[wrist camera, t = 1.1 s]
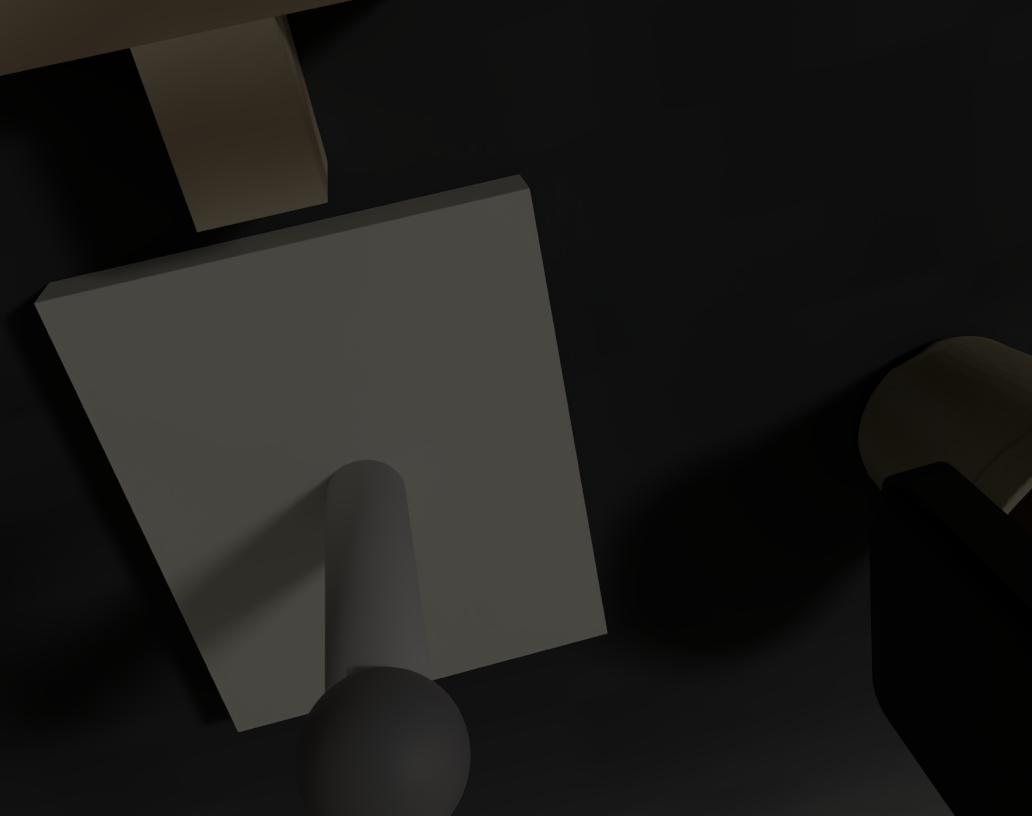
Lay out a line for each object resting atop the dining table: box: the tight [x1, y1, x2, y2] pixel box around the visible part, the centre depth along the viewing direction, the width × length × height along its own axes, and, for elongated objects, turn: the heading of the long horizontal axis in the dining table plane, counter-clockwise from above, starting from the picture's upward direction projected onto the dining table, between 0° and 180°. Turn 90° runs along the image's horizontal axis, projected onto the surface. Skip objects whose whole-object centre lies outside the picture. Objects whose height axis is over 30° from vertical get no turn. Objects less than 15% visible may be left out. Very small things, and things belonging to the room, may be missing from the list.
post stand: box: [34, 174, 607, 816], centre depth 24 cm, size 16×13×13 cm
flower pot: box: [858, 336, 1032, 536], centre depth 29 cm, size 9×9×9 cm
